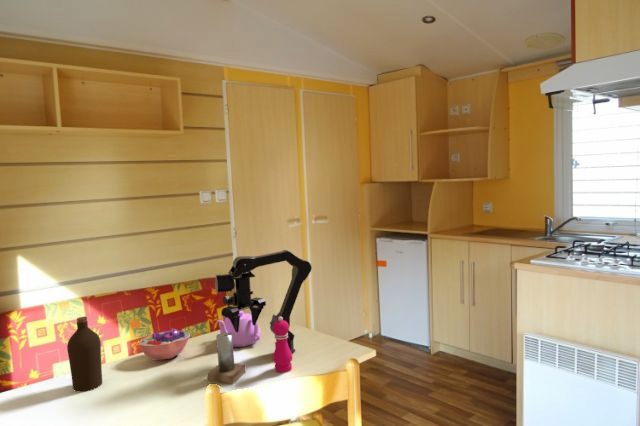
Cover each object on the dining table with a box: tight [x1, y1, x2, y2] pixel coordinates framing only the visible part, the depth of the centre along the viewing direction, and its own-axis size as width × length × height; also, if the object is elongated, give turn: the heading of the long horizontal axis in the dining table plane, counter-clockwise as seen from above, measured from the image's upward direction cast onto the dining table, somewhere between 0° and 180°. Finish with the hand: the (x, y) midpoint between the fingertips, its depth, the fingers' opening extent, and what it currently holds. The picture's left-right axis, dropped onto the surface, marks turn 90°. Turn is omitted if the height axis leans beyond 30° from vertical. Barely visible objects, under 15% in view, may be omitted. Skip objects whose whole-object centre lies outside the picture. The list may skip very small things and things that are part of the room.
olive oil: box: [66, 316, 103, 392], centre depth 163 cm, size 11×11×25 cm
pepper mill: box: [272, 316, 293, 374], centre depth 169 cm, size 7×7×20 cm
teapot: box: [216, 310, 262, 348], centre depth 199 cm, size 22×22×14 cm
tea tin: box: [215, 332, 235, 372], centre depth 165 cm, size 6×6×12 cm
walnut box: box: [206, 363, 246, 385], centre depth 165 cm, size 10×10×3 cm
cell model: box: [138, 328, 191, 361], centre depth 188 cm, size 17×20×11 cm
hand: (245, 328), depth 179 cm, fingers open, 9 cm apart
